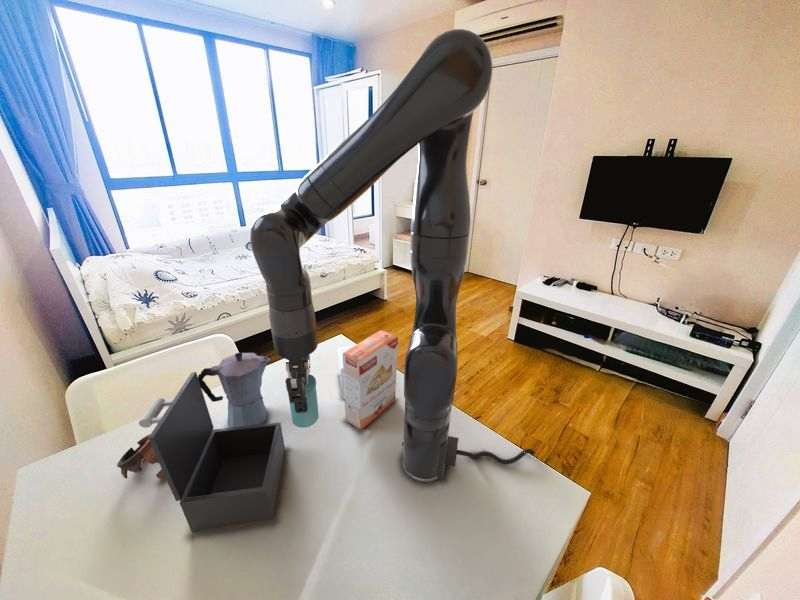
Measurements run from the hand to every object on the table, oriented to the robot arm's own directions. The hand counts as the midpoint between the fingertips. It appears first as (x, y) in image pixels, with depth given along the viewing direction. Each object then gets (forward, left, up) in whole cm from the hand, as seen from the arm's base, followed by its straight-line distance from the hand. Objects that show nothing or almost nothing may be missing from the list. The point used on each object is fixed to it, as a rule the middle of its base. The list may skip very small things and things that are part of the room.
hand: (303, 399), depth 63 cm
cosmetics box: (+1, -26, -18) cm, 31 cm away
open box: (+10, +9, -17) cm, 22 cm away
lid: (+16, +12, -1) cm, 20 cm away
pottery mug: (+31, +9, -18) cm, 37 cm away
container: (0, 0, -5) cm, 5 cm away
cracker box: (-8, -18, -18) cm, 26 cm away
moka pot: (+21, -6, -18) cm, 28 cm away
